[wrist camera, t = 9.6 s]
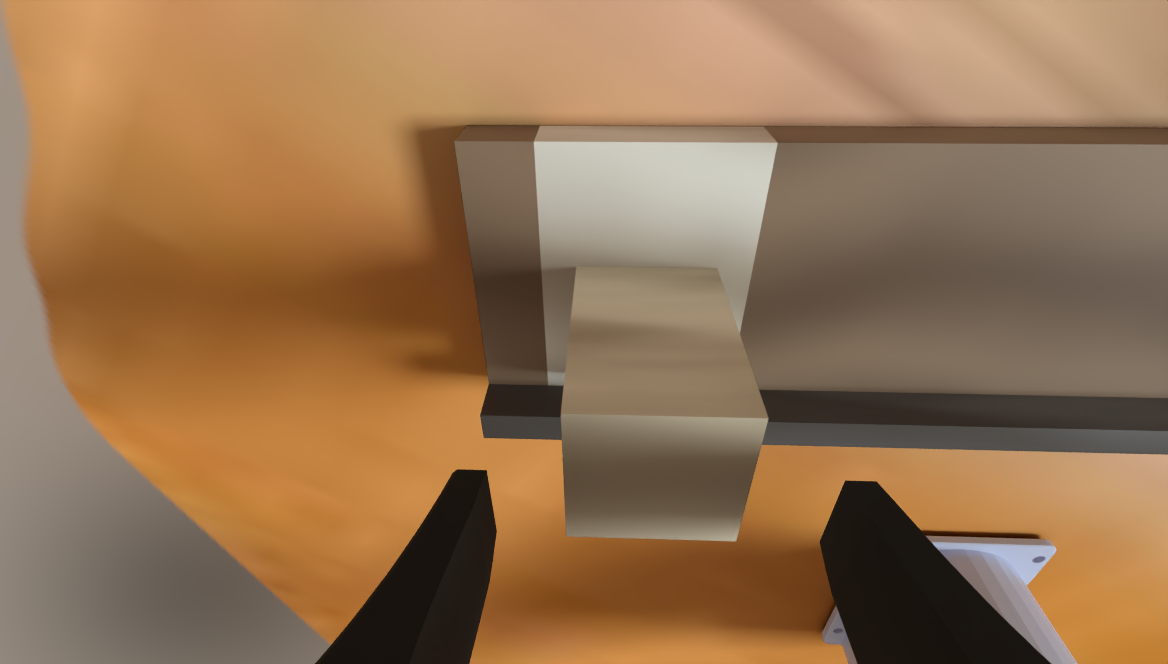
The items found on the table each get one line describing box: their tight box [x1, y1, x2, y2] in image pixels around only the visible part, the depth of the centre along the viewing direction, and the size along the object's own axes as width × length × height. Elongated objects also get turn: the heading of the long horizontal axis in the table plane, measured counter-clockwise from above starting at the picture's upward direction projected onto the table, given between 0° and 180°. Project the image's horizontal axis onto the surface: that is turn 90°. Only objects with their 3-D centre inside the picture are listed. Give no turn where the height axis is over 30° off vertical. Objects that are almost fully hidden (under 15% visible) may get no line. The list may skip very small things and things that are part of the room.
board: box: [454, 125, 1168, 454], centre depth 16 cm, size 9×26×3 cm, turn 90°
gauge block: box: [561, 267, 769, 541], centre depth 14 cm, size 4×4×6 cm
